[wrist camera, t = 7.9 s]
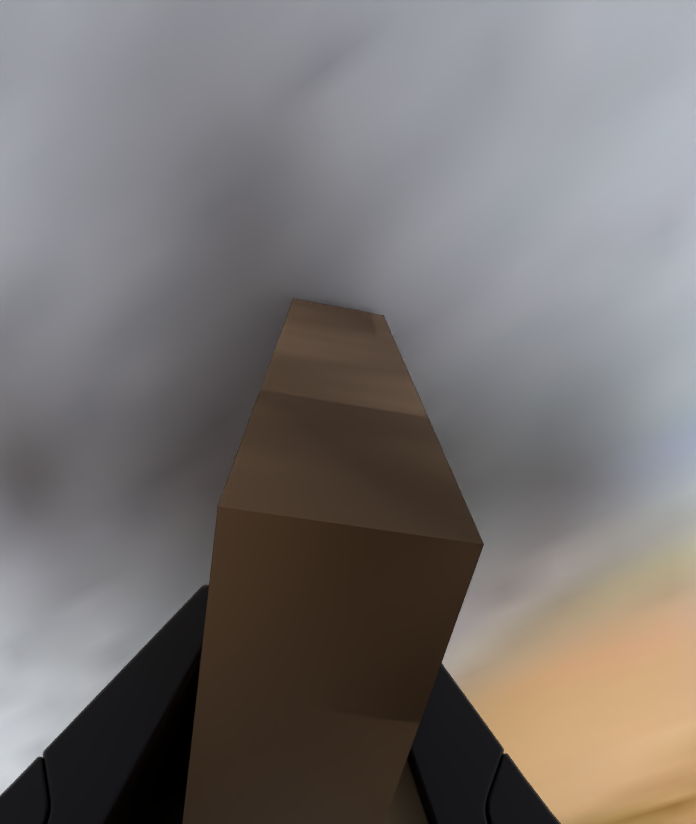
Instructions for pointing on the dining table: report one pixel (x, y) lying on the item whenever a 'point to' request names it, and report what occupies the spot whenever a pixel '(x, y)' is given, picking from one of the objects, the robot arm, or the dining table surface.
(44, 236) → the dining table surface
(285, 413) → the wooden frame
